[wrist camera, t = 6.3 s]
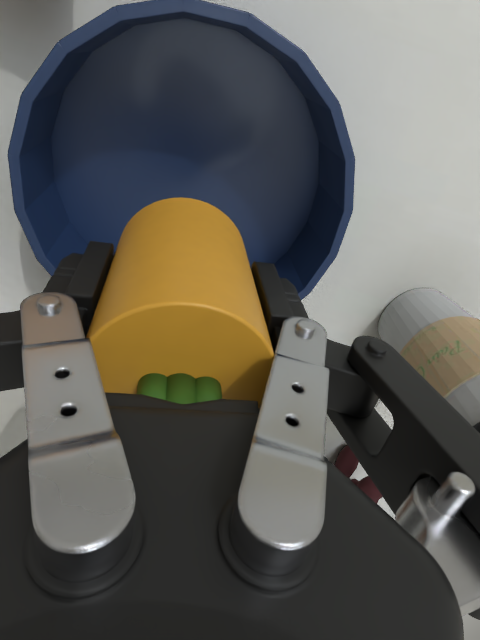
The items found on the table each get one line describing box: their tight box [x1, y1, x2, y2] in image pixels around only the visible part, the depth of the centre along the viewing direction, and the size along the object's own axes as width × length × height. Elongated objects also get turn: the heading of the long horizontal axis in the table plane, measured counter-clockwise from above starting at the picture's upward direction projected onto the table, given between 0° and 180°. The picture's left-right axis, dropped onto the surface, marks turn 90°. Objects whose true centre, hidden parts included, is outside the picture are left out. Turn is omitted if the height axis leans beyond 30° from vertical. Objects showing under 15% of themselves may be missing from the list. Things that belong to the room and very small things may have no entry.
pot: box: [8, 0, 355, 300], centre depth 22 cm, size 17×17×5 cm
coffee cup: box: [378, 288, 480, 433], centre depth 26 cm, size 9×9×15 cm
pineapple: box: [86, 197, 274, 407], centre depth 12 cm, size 5×5×9 cm
